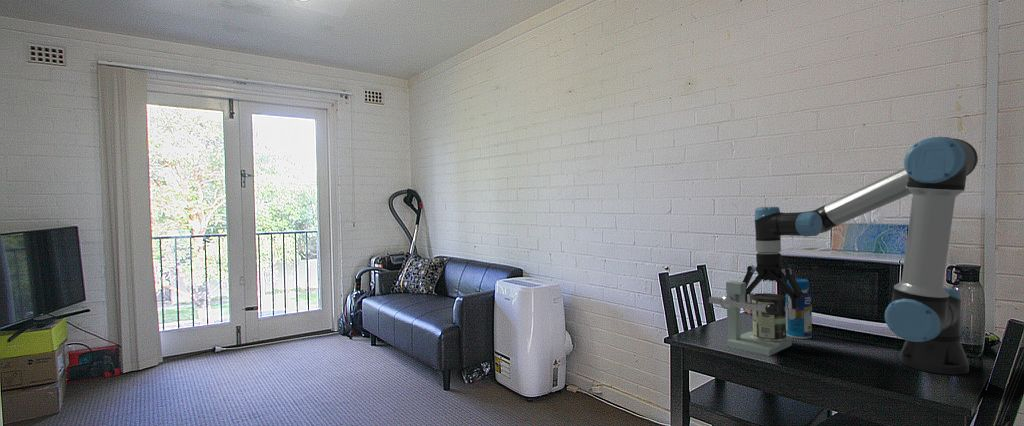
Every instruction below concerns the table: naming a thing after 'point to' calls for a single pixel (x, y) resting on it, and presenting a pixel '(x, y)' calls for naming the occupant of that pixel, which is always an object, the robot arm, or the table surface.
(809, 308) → the beverage bottle
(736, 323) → the stand
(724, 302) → the lever
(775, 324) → the coffee can
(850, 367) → the table surface
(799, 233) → the robot arm
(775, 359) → the table surface
